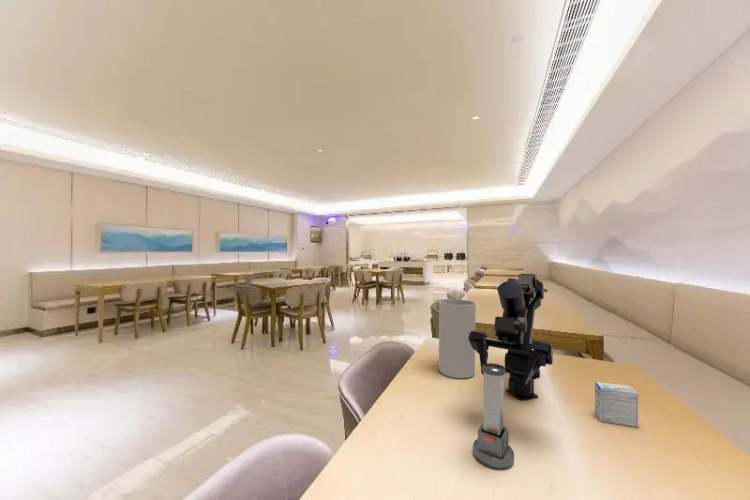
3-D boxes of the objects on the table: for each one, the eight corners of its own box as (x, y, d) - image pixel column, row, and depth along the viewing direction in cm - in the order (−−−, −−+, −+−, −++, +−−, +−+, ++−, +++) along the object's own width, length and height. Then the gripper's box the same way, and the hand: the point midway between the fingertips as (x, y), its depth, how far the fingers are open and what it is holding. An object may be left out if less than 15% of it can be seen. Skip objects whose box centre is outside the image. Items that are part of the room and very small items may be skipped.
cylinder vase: (469, 382, 98) (470, 306, 99) (433, 374, 105) (434, 302, 105) (478, 370, 109) (479, 301, 109) (445, 363, 116) (445, 298, 116)
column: (485, 420, 66) (485, 361, 66) (507, 427, 64) (507, 366, 64) (478, 430, 63) (479, 368, 63) (502, 438, 60) (502, 373, 60)
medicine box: (630, 419, 78) (630, 385, 78) (638, 428, 74) (639, 393, 74) (594, 413, 80) (594, 381, 81) (600, 422, 76) (600, 388, 76)
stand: (479, 439, 69) (479, 414, 69) (517, 453, 64) (517, 426, 64) (467, 458, 62) (468, 431, 62) (509, 476, 57) (509, 446, 58)
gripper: (470, 299, 79) (455, 352, 70) (552, 307, 69) (546, 371, 60) (479, 323, 86) (466, 375, 77) (555, 334, 75) (550, 396, 66)
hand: (502, 378), depth 70 cm, fingers open, 9 cm apart
